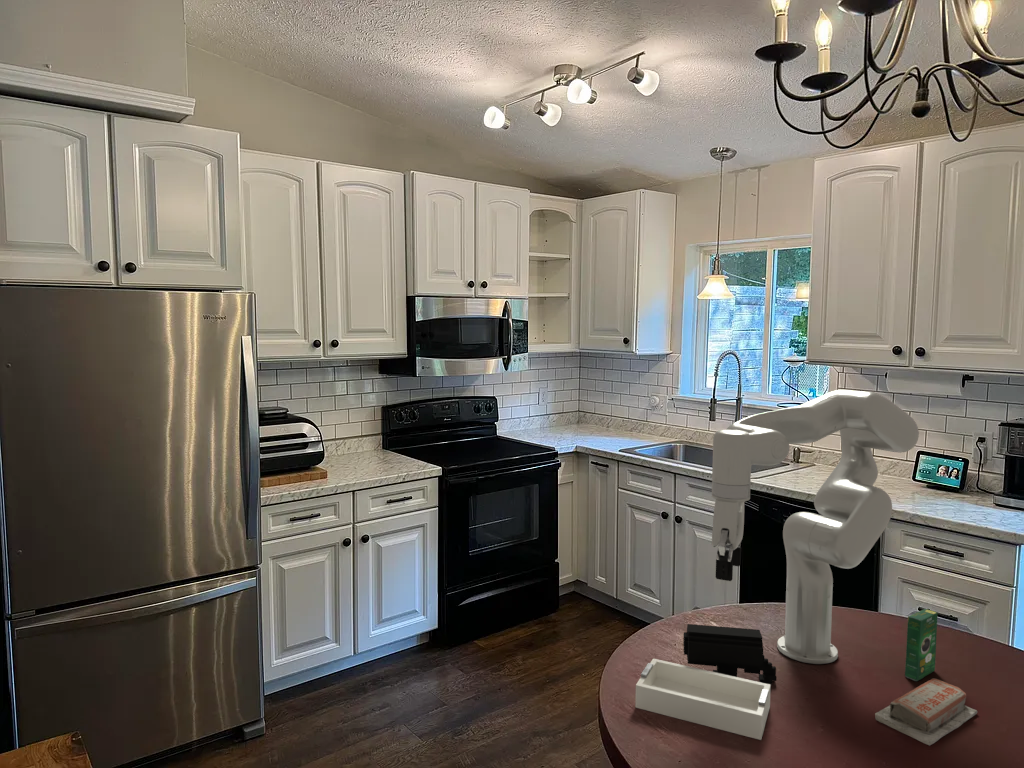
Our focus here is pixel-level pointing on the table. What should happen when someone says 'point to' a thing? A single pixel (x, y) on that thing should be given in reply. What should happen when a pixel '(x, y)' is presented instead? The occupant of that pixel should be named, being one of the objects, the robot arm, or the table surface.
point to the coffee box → (921, 644)
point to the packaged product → (928, 711)
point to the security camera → (728, 650)
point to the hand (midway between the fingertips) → (728, 572)
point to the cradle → (704, 697)
